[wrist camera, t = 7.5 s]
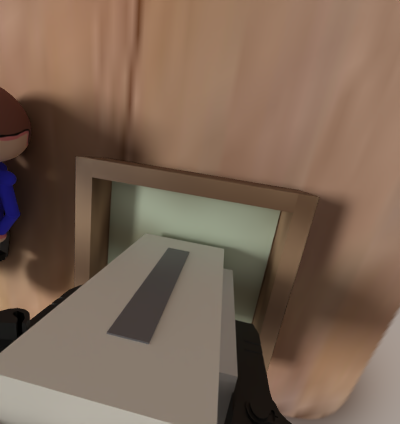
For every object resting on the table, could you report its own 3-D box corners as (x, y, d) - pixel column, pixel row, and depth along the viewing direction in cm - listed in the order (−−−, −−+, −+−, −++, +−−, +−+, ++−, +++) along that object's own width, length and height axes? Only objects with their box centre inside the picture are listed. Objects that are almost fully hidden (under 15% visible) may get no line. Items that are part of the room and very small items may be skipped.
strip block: (146, 232, 13) (-59, 399, 4) (224, 248, 13) (215, 482, 3) (139, 301, 14) (-29, 558, 5) (210, 318, 14) (174, 636, 4)
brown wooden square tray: (106, 158, 14) (75, 156, 11) (299, 190, 13) (319, 197, 10) (99, 315, 17) (73, 345, 14) (254, 353, 16) (260, 394, 13)
